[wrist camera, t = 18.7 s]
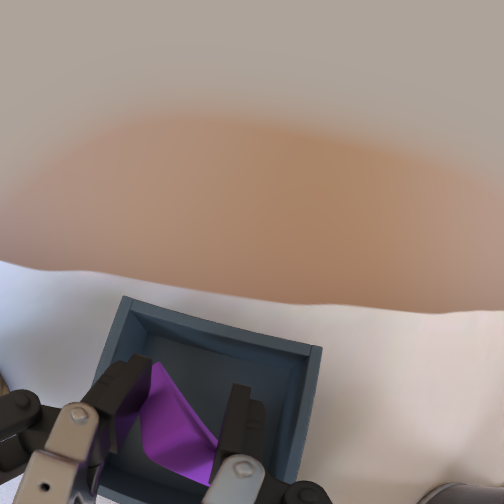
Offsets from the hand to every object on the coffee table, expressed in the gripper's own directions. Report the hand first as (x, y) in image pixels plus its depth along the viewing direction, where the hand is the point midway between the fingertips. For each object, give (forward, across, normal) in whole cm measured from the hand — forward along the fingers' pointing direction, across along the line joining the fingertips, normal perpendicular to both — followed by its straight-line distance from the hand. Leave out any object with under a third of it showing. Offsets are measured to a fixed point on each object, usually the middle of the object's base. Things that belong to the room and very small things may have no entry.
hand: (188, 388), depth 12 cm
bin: (+8, 0, +11) cm, 14 cm away
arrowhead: (+3, 0, +6) cm, 7 cm away
